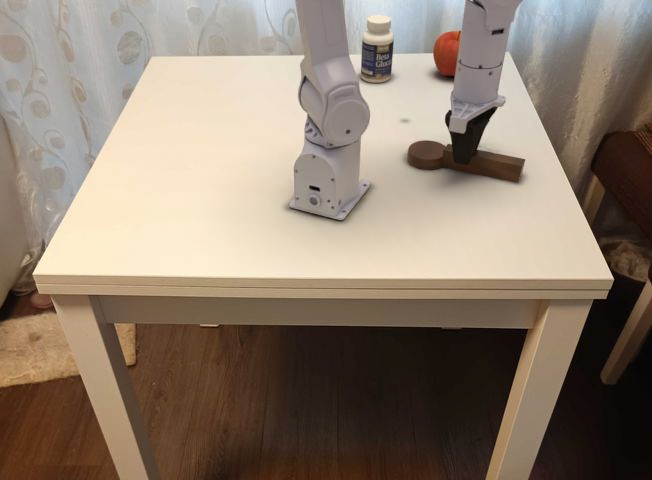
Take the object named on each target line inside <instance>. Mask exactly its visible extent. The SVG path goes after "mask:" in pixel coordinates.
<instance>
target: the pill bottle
mask: <svg viewBox="0 0 652 480" xmlns="http://www.w3.org/2000/svg"><path fill="white" fill-rule="evenodd" d="M391 27H392V18H391V17H390V16H388V15H383V14H374V15H370V16H368V17H367V19H366V29H367V30H366V31H364V32H363V34H362V38H361V62H360V66H361V67H360V77H361V79H362V80H364V81H366V82H368V83H375V84H376V83H377V84H380V83H385V82H387V81H389V80H390V79H391V77H392V70H393V57H394V43H395V35H394V33H393V32H392V31H391V30H390V29H391Z"/></svg>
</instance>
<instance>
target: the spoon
mask: <svg viewBox="0 0 652 480" xmlns="http://www.w3.org/2000/svg"><path fill="white" fill-rule="evenodd" d="M407 148H408V149H407V162H408V163H409V164H410V165H411V166H412V167H414V168H416V169H421V170H436V169H439V168H441V167H443V168H448V169H452V170H456V171H461V172H465V173H471V174H476V175H480V176H485V177H489V178H495V179H500V180H503V181H504V180H505V181H508V182H513V183H519V182H520V180H521V178H522V175H523V172H524V167H525V163H526V158H521V157H517V156H512V155H507V154H501V153H496V152H492V151H486V150H481V149H478V148H477V149H475V150H474V153H473V156H472V158H471V160H470V162H469V164H468V165H464V164H459V163H454V160H453V151H452V143H447V144H446V145H445V144H444V143H441V142H439V141H435V140H429V139H426V140H418V141H415V142H413V143H411V144H409V146H408V147H407Z"/></svg>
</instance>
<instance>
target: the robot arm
mask: <svg viewBox="0 0 652 480" xmlns="http://www.w3.org/2000/svg"><path fill="white" fill-rule="evenodd" d="M523 1H524V0H464V9H463V15H462V16H463V18H462V22H461V37H460V44H459V51H458V58H457V65H456V72H455V76H454V81H453V88H452V90H451V92H450V101H449V102H450V109H449V110H448V111H447V112H446V114H445V115H444V123H445V125H446V128H447V130H448V132H449V136H450V139H451V144H452V151H453V160H454V163H459V164H464V165H468V164H469V162H470V160H471V158H472V156H473V153H474V150H475V149H477V150H478V148H479V145H480V142H481V140H482V137H483V135H484V132H485V129H486V128H487V126H488V124H489V123H490V122H491V121H490V120H491V118H492V117H493V116H494V115H495V113H496V112H497V110H498V109H499V108H502V107H504V105H505V104H506V102H507V97H506V96H505V95H500V94H499V88H500V82H501V77H502V72H503V67H504V61H505V57H506V51H507V46H508V40H509V35H510V30H511V25H512V22H514V20H515V16H516V11H517V9H518V7H519V6H520V5H521V4H522V2H523ZM294 3H295V9H296V14H297V20H298V27H299V33H300V38H301V44H302V45H301V46H302V51H303V56H304V57H303V58H302V60H301V62H300V63H299V69H300V76H301V77H300V82H299V86H298V90H297V100H298V103H299V106H300V107H301V109H302V110H303V111H304V112H305V113H306V120H305V123H304V127H303V131H304V139H303V140H304V141H303V146H302V150H301V152H300V154H299V156H298V157H296V160H295V161H294V165H293V185H294V187H293V189H294V197H293V198H292V199H291V200H290V202H289V203H288V206H289V208H291V209H294V210H299V211H303V212H307V213H310V214H315V215H318V216H322V217H326V218H331V219H335V220H338V221H344V220H345V219H346V218H347V216H348V215H349V214H350V212H351V211H352V210H353V208H354V207H355V206H356V204H357V203H359V201H360V200H361V198H362V197H363V195H364V194H365V193H366V192H367V191H368V189H370V187H371V183H370V182H368V181H365V180H361V178H360V175H361V174H360V173H361V150H362V137H363V135H364V134H365V132H366V131H367V129H368V127H369V124H370V120H371V110H370V106H369V104H368V102H367V101H366V99H365V98H364V97H363V95H362V93H361V87H360V80H359V77H358V75H357V73H356V70H355V66H354V65H353V62H352V60H351V56H350V51H349V50H350V49H349V43H348V42H349V41H348V34H347V33H348V32H347V23H346V16H345V15H346V14H345V7H344V0H294Z"/></svg>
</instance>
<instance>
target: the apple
mask: <svg viewBox="0 0 652 480" xmlns="http://www.w3.org/2000/svg"><path fill="white" fill-rule="evenodd" d="M461 30H462V29H461ZM461 30H451V31H447V32H444V33H442V34H440V35H439V36H438V38H437V39H436V40H435V42H434V45H433V50H432V53H433V54H432V55H433V61H434V64H435V68H436V69H437V70H438V72H439V73H440V74H441V75H442V76H444V77H448V76H453V77H455V72H456V65H457V58H458V51H459V44H460V37H461Z"/></svg>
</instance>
